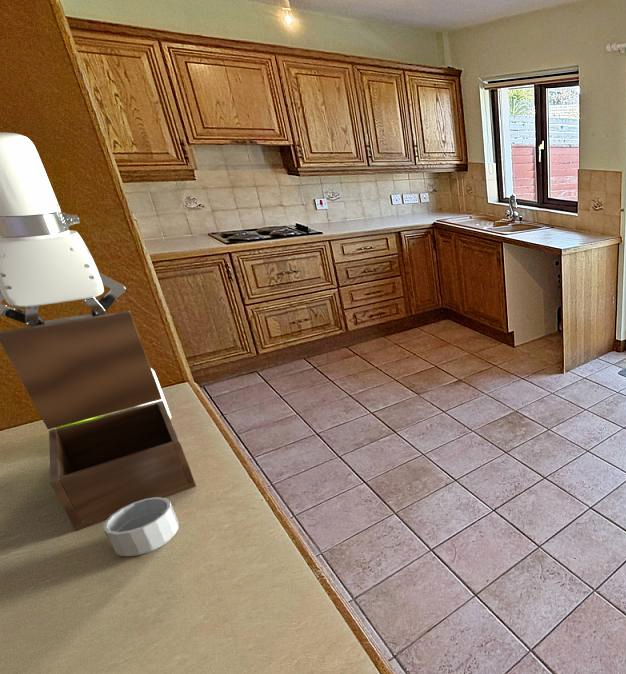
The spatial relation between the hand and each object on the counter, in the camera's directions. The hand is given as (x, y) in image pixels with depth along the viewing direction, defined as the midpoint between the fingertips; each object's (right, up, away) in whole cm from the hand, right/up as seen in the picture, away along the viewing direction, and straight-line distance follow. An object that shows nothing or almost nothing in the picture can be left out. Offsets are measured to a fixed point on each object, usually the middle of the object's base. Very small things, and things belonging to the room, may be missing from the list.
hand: (78, 340), depth 75 cm
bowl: (+19, -28, -8) cm, 35 cm away
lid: (+3, -5, -1) cm, 5 cm away
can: (-4, -17, +17) cm, 24 cm away
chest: (+6, -23, +2) cm, 24 cm away
